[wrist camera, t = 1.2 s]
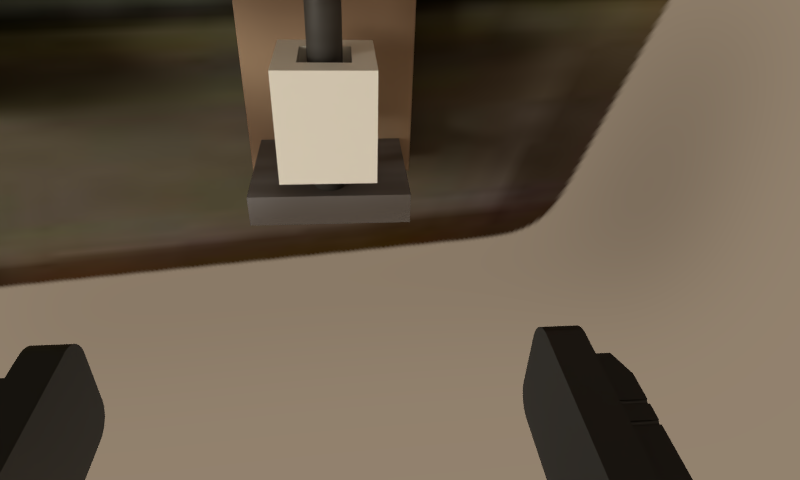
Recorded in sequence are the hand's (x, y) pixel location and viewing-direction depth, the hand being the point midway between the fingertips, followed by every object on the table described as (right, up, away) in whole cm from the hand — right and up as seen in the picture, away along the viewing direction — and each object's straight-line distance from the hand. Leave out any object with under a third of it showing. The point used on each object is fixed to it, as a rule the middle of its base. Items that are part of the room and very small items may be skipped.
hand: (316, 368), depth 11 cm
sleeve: (-1, +8, +11) cm, 14 cm away
